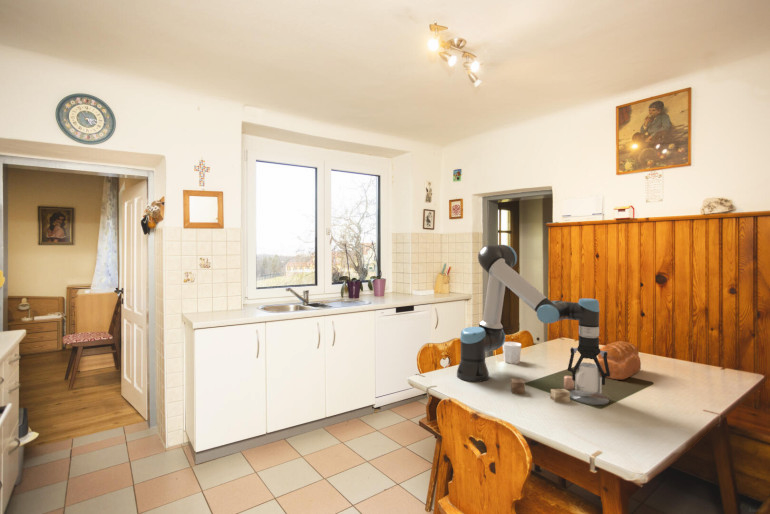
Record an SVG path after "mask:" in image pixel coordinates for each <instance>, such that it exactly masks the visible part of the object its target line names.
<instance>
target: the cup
mask: <svg viewBox="0 0 770 514" xmlns="http://www.w3.org/2000/svg"><path fill="white" fill-rule="evenodd" d="M501 347H502V356H503V357H502V358H503V361H504V363H507V364H516V365H517V364H520V363H521V362H520V361H521V351H522V343H521V342H516V341H505V342H504V344H503V345H502V346H501Z"/></svg>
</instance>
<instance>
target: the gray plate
mask: <svg viewBox="0 0 770 514" xmlns="http://www.w3.org/2000/svg"><path fill="white" fill-rule="evenodd" d="M569 392H570V400H573V402H574V401H575V402H577V403H580V404H585V405H590V406H604V405H607V404H609V403H610V398H609V397H608V396H607V395H605V394H604V393H602V394H601V393H600V392H597V393H589V392H584V391H581V390H580V389H577V390H576V389H573V390H569Z"/></svg>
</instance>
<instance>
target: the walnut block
mask: <svg viewBox="0 0 770 514" xmlns="http://www.w3.org/2000/svg"><path fill="white" fill-rule="evenodd" d="M510 391H511V393H512V394H515V395H525V394H526V381H524V379H523V378H510Z"/></svg>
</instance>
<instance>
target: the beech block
mask: <svg viewBox="0 0 770 514" xmlns="http://www.w3.org/2000/svg"><path fill="white" fill-rule="evenodd" d="M550 399H551V400H552V401H553V402H555V403H570V402H571V398H570V390H568V389H565V388H551V389H550Z"/></svg>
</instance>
